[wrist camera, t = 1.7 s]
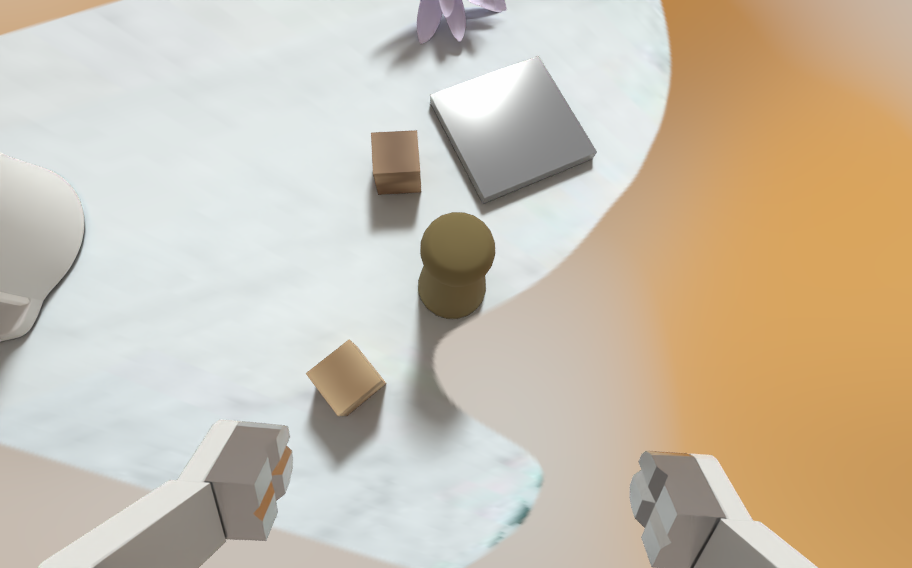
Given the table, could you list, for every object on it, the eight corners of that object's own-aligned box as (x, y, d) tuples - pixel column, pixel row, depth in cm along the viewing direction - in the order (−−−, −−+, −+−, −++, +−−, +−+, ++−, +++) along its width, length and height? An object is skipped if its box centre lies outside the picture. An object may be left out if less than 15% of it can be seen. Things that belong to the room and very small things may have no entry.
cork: (406, 270, 41) (397, 221, 30) (466, 242, 42) (477, 185, 31) (437, 330, 40) (439, 300, 29) (498, 300, 41) (521, 260, 30)
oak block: (347, 415, 38) (337, 415, 34) (318, 377, 38) (305, 373, 34) (386, 383, 38) (381, 380, 35) (357, 346, 39) (349, 339, 35)
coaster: (483, 203, 43) (484, 198, 42) (430, 102, 46) (430, 94, 45) (592, 158, 45) (597, 151, 44) (536, 64, 48) (538, 55, 47)
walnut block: (378, 195, 43) (373, 173, 39) (376, 157, 44) (371, 132, 40) (421, 192, 43) (420, 171, 39) (418, 154, 44) (416, 130, 41)
